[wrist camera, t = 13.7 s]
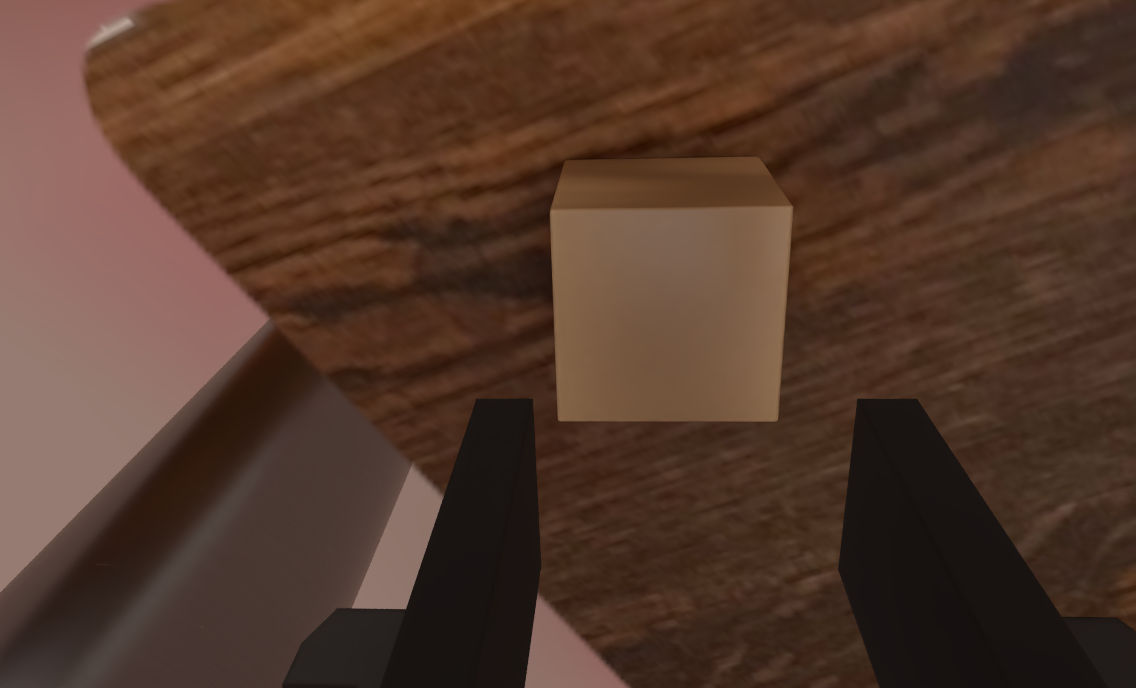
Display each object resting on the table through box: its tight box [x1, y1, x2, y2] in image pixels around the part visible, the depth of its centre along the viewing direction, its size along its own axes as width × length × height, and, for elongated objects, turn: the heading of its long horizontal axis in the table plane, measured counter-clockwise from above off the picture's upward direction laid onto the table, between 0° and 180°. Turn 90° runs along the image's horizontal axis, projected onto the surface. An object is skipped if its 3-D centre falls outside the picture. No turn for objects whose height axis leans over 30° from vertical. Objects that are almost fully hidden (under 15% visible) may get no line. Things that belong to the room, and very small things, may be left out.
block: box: [550, 157, 793, 422], centre depth 20 cm, size 5×5×5 cm
